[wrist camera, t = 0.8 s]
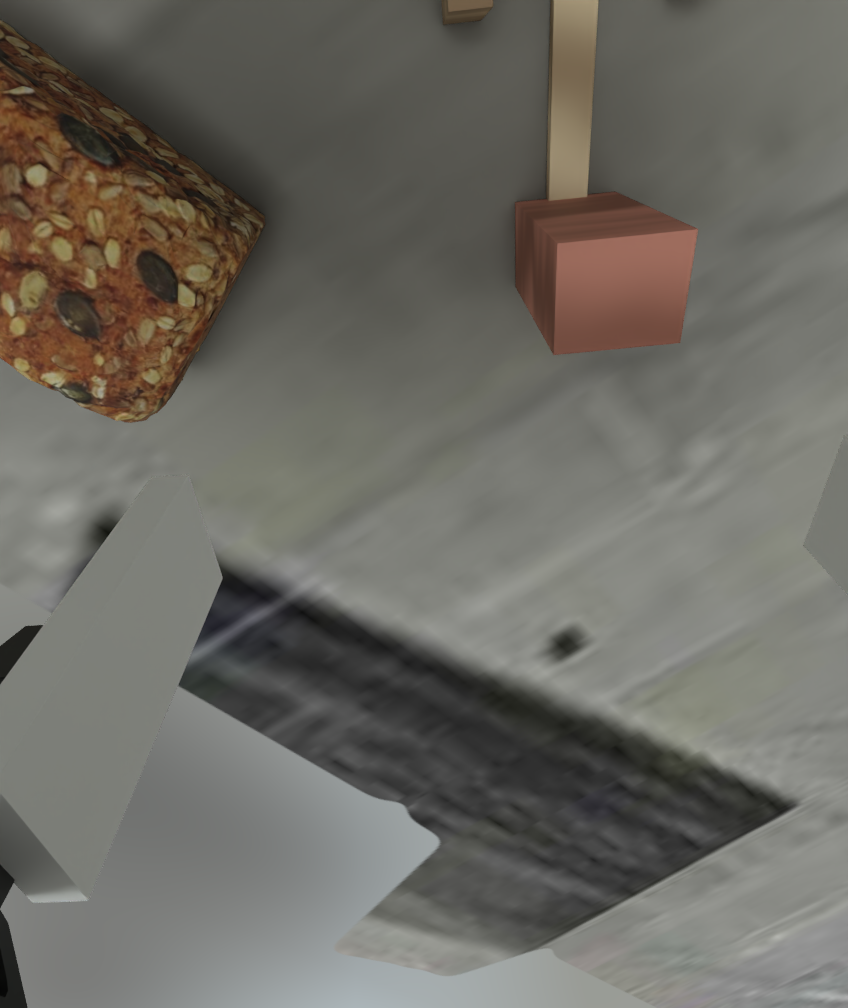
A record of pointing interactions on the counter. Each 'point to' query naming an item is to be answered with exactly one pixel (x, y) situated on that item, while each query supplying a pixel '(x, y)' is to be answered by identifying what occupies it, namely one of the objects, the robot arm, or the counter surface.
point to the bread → (105, 242)
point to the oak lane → (464, 10)
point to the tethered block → (594, 225)
